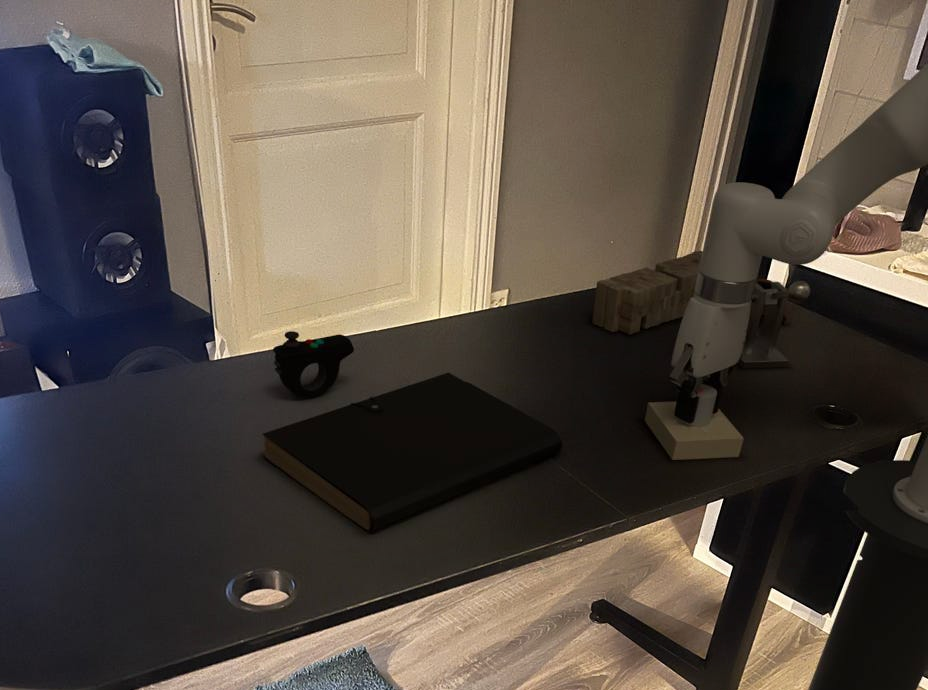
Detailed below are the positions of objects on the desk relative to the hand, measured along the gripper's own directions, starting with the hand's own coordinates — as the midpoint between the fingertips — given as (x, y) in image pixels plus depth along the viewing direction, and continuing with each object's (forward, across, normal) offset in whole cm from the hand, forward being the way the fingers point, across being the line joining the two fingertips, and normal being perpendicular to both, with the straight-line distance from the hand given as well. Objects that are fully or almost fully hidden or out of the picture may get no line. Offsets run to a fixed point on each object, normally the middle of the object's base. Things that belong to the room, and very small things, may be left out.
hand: (695, 413), depth 139 cm
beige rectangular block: (+4, 0, 0) cm, 4 cm away
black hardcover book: (+4, +37, -18) cm, 41 cm away
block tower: (+4, -34, -36) cm, 49 cm away
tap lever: (-7, -30, -9) cm, 32 cm away
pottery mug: (+4, -48, -24) cm, 53 cm away
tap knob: (+1, 0, 0) cm, 1 cm away
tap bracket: (+4, -33, -14) cm, 36 cm away
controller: (+4, +37, -42) cm, 56 cm away
